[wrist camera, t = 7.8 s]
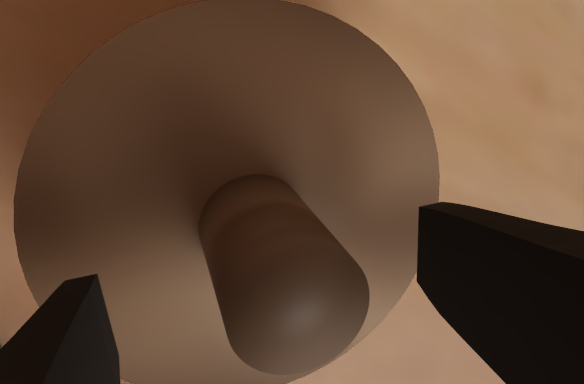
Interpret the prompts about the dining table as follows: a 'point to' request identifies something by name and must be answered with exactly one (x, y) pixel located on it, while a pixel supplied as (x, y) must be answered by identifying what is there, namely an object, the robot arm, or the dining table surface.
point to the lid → (230, 190)
